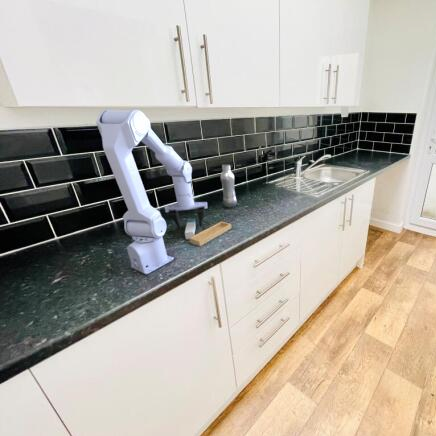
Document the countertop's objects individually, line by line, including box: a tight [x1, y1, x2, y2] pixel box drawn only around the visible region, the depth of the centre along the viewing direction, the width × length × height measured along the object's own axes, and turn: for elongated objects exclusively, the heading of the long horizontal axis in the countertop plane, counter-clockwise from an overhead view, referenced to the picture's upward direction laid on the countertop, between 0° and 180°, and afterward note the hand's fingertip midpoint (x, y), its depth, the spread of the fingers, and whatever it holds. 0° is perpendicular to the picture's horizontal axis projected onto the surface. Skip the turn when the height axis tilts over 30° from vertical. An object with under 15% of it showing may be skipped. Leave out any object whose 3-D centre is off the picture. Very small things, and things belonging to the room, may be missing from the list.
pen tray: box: [188, 221, 233, 247], centre depth 96 cm, size 16×5×2 cm, turn 150°
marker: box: [184, 218, 197, 240], centre depth 99 cm, size 12×3×3 cm, turn 15°
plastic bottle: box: [220, 163, 238, 208], centre depth 120 cm, size 6×7×20 cm
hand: (190, 227), depth 99 cm, fingers open, 7 cm apart
